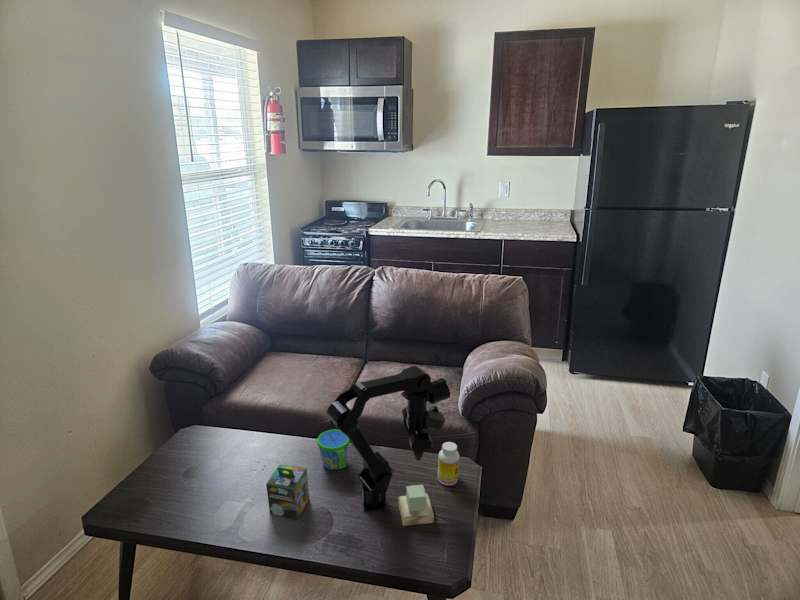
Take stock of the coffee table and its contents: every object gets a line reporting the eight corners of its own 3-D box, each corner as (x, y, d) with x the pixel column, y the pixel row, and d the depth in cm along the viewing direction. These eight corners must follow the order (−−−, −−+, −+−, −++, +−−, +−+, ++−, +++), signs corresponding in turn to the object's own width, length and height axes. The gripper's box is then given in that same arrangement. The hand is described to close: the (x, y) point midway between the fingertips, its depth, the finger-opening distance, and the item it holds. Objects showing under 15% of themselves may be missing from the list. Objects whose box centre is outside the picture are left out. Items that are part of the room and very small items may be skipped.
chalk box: (310, 498, 158) (307, 458, 152) (297, 520, 149) (294, 478, 144) (282, 493, 160) (278, 453, 154) (268, 514, 151) (264, 473, 146)
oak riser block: (403, 525, 148) (403, 517, 147) (398, 503, 156) (398, 495, 155) (433, 522, 149) (434, 514, 148) (427, 500, 157) (427, 492, 156)
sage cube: (408, 512, 149) (409, 498, 147) (406, 499, 153) (406, 486, 152) (425, 510, 150) (426, 496, 148) (422, 498, 154) (422, 484, 152)
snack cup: (356, 474, 168) (355, 448, 165) (324, 482, 164) (323, 456, 161) (342, 447, 182) (342, 422, 178) (313, 453, 178) (312, 428, 174)
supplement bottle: (456, 488, 163) (459, 454, 158) (436, 484, 164) (437, 451, 160) (459, 474, 169) (461, 441, 164) (438, 471, 170) (440, 438, 166)
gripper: (450, 422, 146) (448, 467, 152) (436, 389, 164) (434, 431, 169) (412, 425, 145) (411, 471, 150) (401, 392, 162) (401, 433, 168)
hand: (415, 450), depth 159 cm, fingers open, 9 cm apart
